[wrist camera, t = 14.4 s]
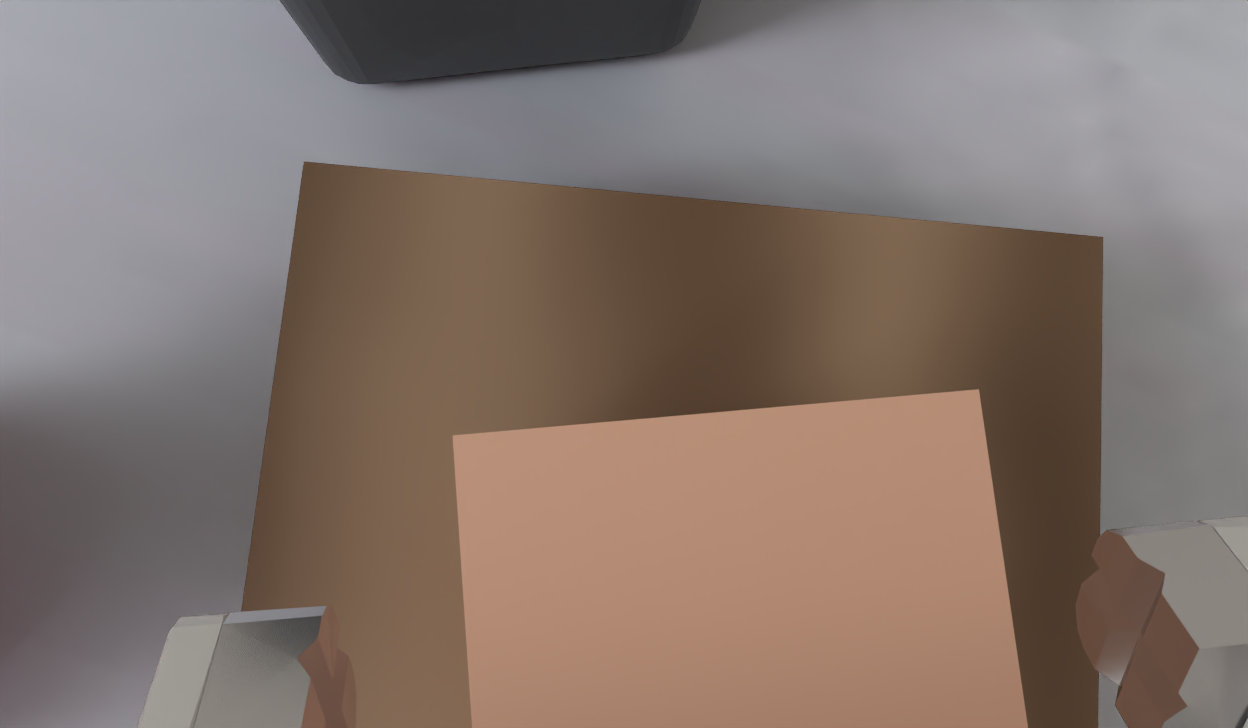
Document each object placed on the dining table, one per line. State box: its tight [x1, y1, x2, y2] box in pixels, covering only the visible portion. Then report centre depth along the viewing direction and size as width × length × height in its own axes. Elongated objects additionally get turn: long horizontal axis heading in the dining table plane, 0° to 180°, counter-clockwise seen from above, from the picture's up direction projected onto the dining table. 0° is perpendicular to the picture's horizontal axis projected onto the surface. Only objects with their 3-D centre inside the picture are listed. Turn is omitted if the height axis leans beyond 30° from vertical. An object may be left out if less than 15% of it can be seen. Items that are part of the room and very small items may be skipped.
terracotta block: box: [453, 389, 1028, 728], centre depth 13 cm, size 5×5×8 cm
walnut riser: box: [241, 162, 1103, 728], centre depth 20 cm, size 14×14×6 cm
